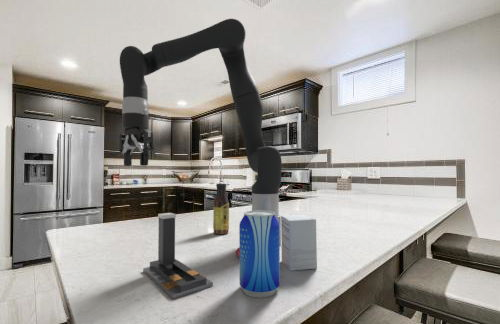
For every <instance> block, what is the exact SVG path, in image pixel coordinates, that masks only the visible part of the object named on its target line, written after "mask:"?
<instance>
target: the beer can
mask: <svg viewBox="0 0 500 324" xmlns="http://www.w3.org/2000/svg"><path fill="white" fill-rule="evenodd" d="M238 227H239V233H238V234H239V239H238V240H239V248H240V257H239V286H240V288H241V289H242V291H243V293H244V294H246V295H247V296H249V297H253V298H268V297H271V296H273V295H275V293H276V291H278V288H280V283H281V280H280V279H281V278H280V277H281V275H280V274H281V273H280V272H281V270H280V269H281V268H280V266H281V265H280V264H281V263H280V262H281V261H280V259H281V258H280V257H281V256H280V250H281V249H280V246H281V245H280V244H279V222H278V221H277V219H276V217H275V213H274V212H272V211H263V210H256V211H252V210H249V211H248V210H247V211H245V212H243V217H242V218H241V220H240V221H239V226H238Z"/></svg>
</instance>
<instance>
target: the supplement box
mask: <svg viewBox="0 0 500 324" xmlns="http://www.w3.org/2000/svg"><path fill="white" fill-rule="evenodd" d="M280 217H281V262H282V263H283V264H284V265H285V267H287V269H288V270H289V272H290V271H291V272H293V271H294V272H295V271H304V270H314V269H318V259H317V258H318V257H317V256H318V252H317V250H318V248H317V219H316V218H314V217H311V216H309V215H306V214H294V215H293V214H292V215H291V214H290V215H281V216H280Z"/></svg>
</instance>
